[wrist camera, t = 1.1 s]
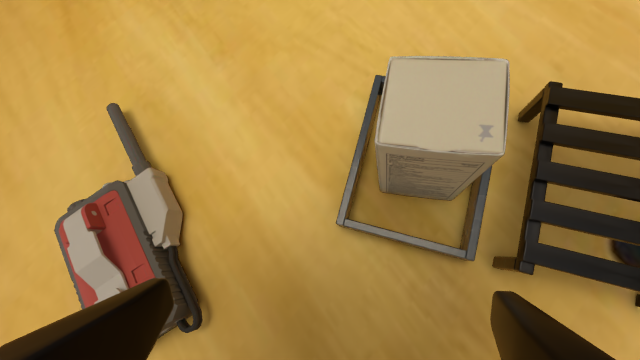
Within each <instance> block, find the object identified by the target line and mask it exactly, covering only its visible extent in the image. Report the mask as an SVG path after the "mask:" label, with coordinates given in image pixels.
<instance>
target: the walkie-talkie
mask: <svg viewBox="0 0 640 360" xmlns="http://www.w3.org/2000/svg"><path fill="white" fill-rule="evenodd" d="M107 111H108V113H109V116H110V118H111V120H112V122H113V124H114V126H115V128H116V131H117V133H118V135H119V137H120V139H121V141H122V143H123V146H124V148H125V150H126V152H127V154H128V156H129V158H130V161H131V163H132V165H133V166H132V169H133V171H134V173H135V175H136V177H134V178H133V179H132V180H128V181H125V182H121V181H118V180H117V181H115V182H112V183H106V184H104V185H103V188H101V189H100V190H99V191H97V192H96V193H94V194H93V195H91V196H90V197H89V198H87V199H82V200H79V201H77V202H74V203H73V204H71V205H70V206H69V208H68V209H67V211H68V212H67V213H66V214H65V215H63V216H62V217H60V218H59V219H58V221H57V223H56V225H55V230H54V231H55V234H56V237H57V240H58V242H59V245H60V248H61V251H62V254H63V257H64V259H65V262H66V265H67V268H68V271H69V274H70V277H71V279H72V281H73V283H74V288H75V289H76V291H77V292H76V294H78V297H79V301H80V303H81V308H82V309H85V308H87V307H89V306H91V305H94V304H96V303H98V302H100V301H103V300H105V299H107V298H109V297H111V296H114V295H116V294H118V293H120V292H123V291H125V290H127V289H129V288H131V287H134V286H136V285H138V284H140V283H143V282H145V281H147V280H149V279H152V278H165V279H167V280H168V281H169V283H170V287H171V291H172V295H173V299H174V307H173V310H172V312H171V314H170V316H169V318H168V320H167V322H166V323H165V325H164V327H163V329H162V331H161V333H160V335H159V337H161V336H162V335H164V334H165V333H167V332H168V331H170V330H171V329H172V328H174V327H175V326H177V325H178V327H179V329H180V330H181V331H183V332H185V333H189V332H192V331H194V330H197V329H198V328H199V327H200V326H201V323H202V313H201V309H200V307H199V305H198V303H197V302H198V299H196V296H195V293H194V292H193V290H192V286H190V284H189V280H188V279H187V277H186V274H185V273H184V271H183V267H181V265H180V261H179V260H178V251H177V246H179V245H180V243H179V236H180V230H181V223H182V217H183V213H182V211H181V209H180V207H179V205H178V203H177V201H176V199H175V197H174V194H173V192H172V190H171V188H170V186H169V184H168V178H167V176H166V174H165V173H164V172H162V171H159V170H156V169H153V168H152V167H151V165H150V163H149V162H148V161H146V159H145V157H144V155H143V153H142V151H141V149H140V147H139V145H138V143H137V140H136V138H135V136H134V134H133V132H132V130H131V128H130V127H129V125H128V123H127V121H126V119H125V117H124V115H123V113H122V111H121V109H120V107H119V105H118V104H115V103H111V104H109V105H108V106H107ZM191 315H193V324H192V326H191V325H189V324H188V323H187V321H186V319H187V318H189V317H190V316H191ZM159 337H158V338H159Z"/></svg>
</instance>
